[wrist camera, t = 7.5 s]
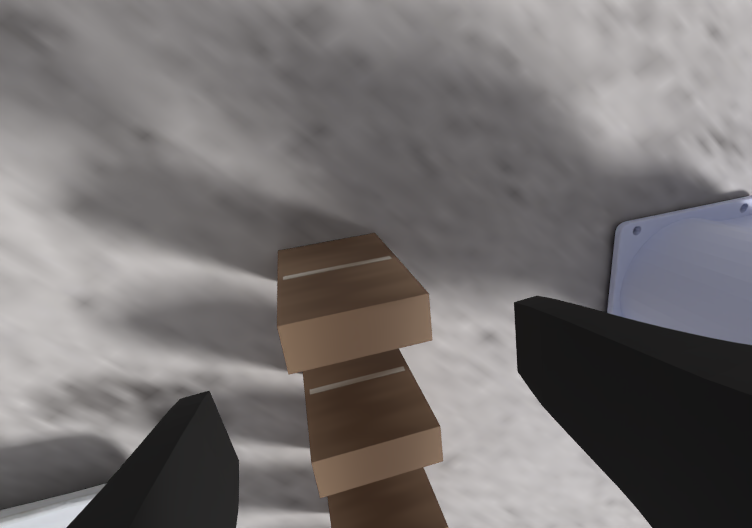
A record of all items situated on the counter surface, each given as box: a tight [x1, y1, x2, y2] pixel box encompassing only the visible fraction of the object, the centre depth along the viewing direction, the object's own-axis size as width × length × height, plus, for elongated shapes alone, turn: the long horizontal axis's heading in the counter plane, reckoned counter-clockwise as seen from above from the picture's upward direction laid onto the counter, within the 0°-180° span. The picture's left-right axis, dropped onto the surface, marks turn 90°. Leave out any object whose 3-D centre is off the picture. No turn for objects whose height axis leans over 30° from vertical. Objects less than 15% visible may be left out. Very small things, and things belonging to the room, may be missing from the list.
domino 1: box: [277, 233, 432, 374], centre depth 14 cm, size 4×2×7 cm, turn 97°
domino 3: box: [327, 467, 448, 528], centre depth 18 cm, size 4×2×7 cm, turn 97°
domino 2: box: [303, 348, 443, 498], centre depth 16 cm, size 4×2×7 cm, turn 97°
